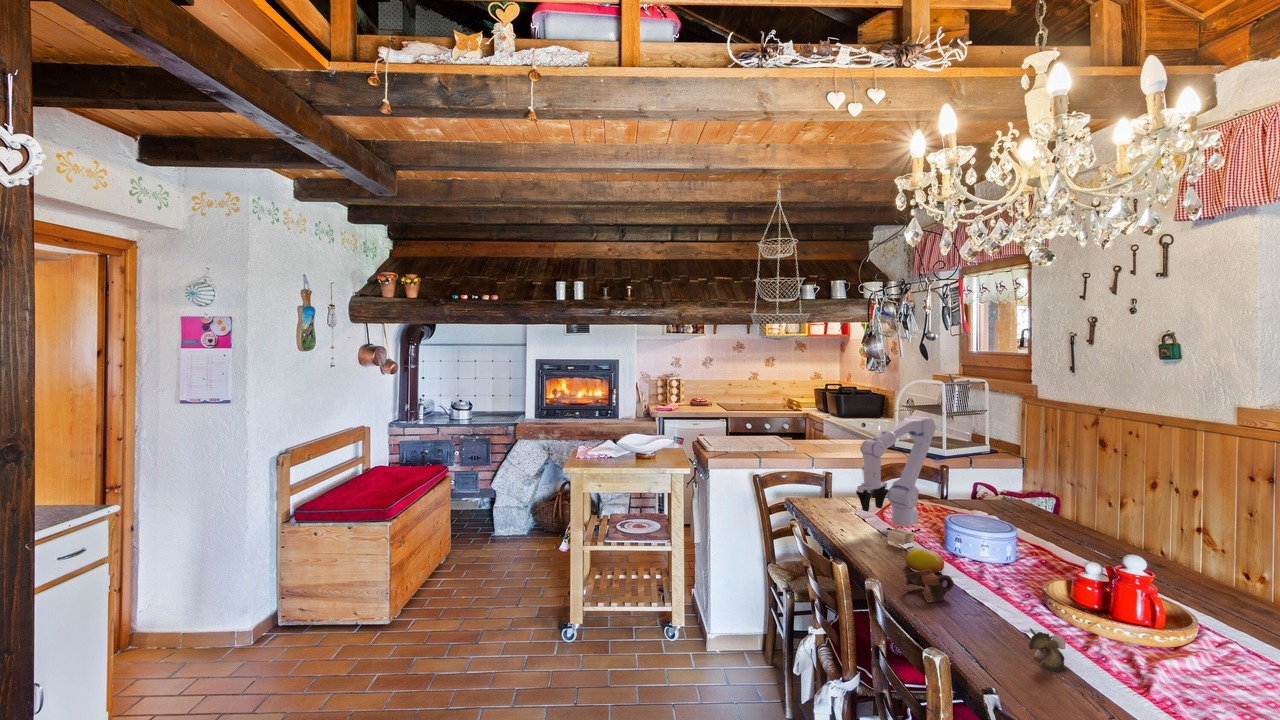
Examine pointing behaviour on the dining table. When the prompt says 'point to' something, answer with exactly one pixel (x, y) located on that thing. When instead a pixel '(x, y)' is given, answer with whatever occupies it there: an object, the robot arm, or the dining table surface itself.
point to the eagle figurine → (1048, 650)
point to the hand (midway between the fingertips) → (872, 509)
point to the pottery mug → (931, 584)
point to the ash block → (900, 536)
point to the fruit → (924, 560)
